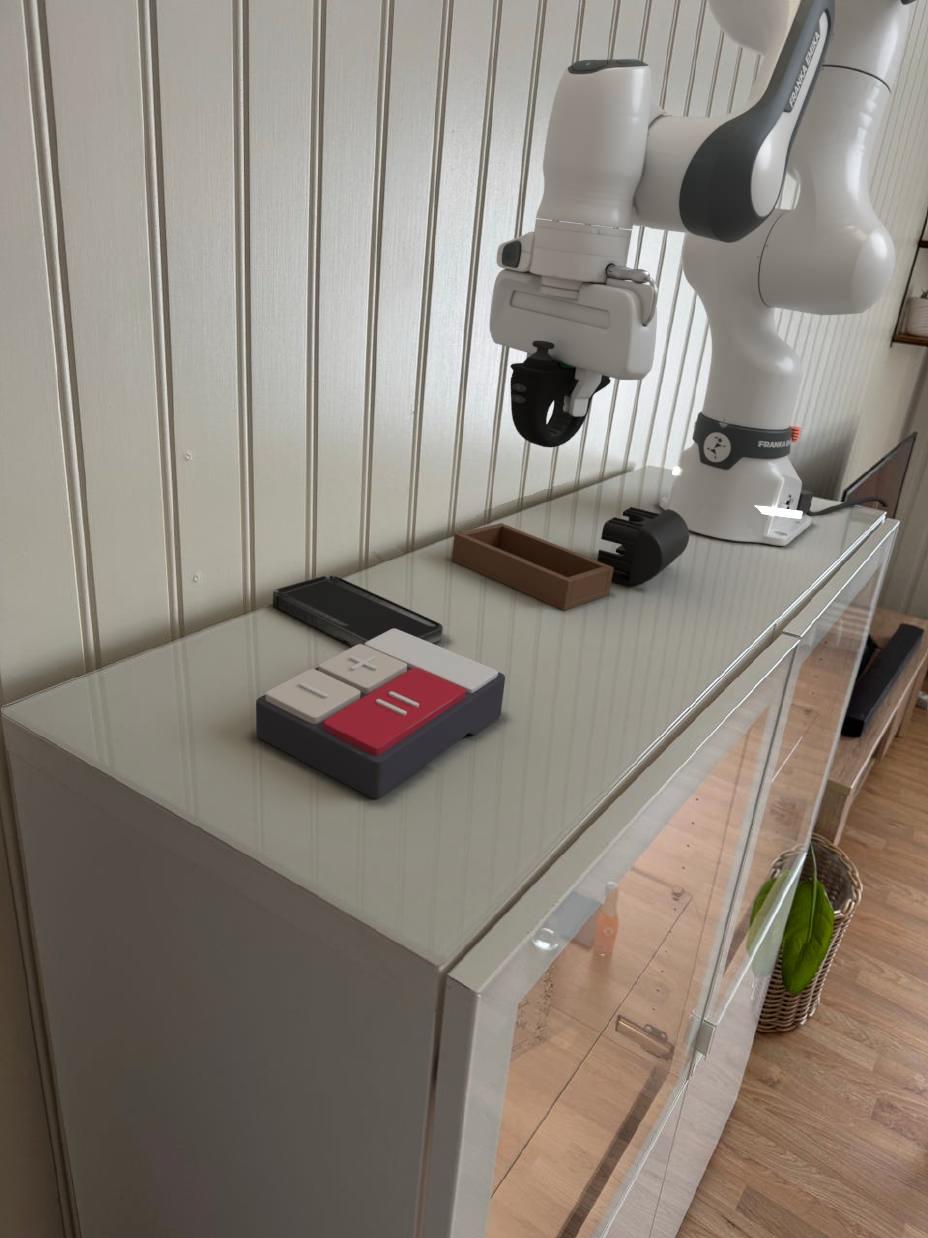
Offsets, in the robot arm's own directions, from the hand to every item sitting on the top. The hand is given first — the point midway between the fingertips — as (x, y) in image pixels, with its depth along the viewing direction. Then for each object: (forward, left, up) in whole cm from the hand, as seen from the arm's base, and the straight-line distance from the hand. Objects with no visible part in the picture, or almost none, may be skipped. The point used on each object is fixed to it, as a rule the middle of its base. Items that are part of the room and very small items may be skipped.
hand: (556, 408), depth 91 cm
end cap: (-12, +6, -18) cm, 22 cm away
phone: (+23, -1, -18) cm, 29 cm away
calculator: (+33, +14, -18) cm, 40 cm away
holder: (0, 0, -18) cm, 18 cm away
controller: (0, 0, -4) cm, 4 cm away
